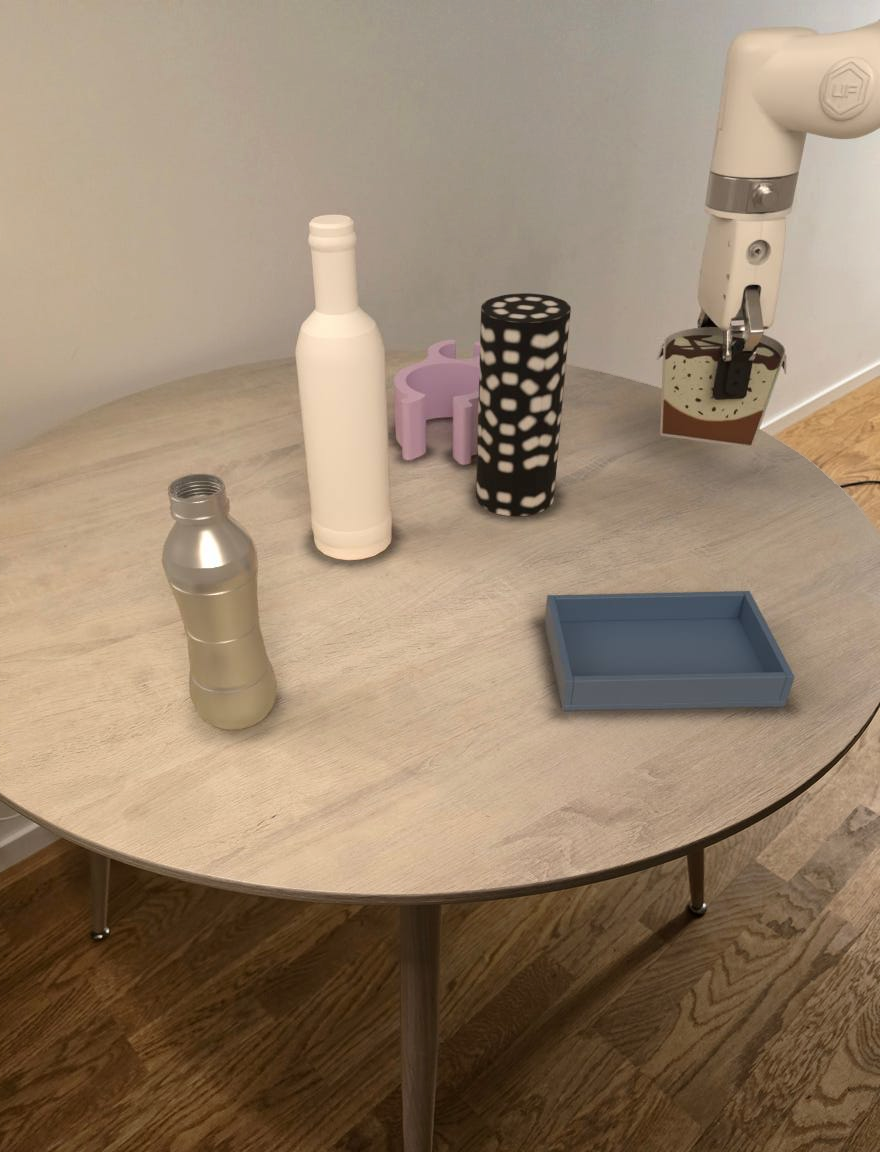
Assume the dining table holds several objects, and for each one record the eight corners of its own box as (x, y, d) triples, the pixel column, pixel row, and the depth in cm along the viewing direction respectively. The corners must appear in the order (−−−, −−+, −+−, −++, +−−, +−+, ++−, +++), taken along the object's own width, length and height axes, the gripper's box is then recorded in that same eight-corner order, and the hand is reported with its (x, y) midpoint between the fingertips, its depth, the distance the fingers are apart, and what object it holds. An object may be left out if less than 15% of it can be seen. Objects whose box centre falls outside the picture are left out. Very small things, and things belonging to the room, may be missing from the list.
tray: (742, 619, 78) (749, 590, 76) (785, 707, 69) (795, 676, 67) (544, 623, 78) (547, 594, 76) (562, 711, 69) (566, 681, 68)
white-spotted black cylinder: (465, 508, 94) (468, 317, 82) (489, 473, 100) (496, 289, 88) (541, 522, 91) (557, 327, 79) (562, 485, 97) (580, 298, 85)
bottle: (389, 562, 86) (376, 232, 68) (308, 561, 87) (273, 233, 68) (394, 519, 93) (384, 206, 74) (319, 519, 93) (290, 207, 74)
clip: (419, 389, 119) (418, 337, 114) (512, 395, 116) (515, 343, 112) (382, 458, 104) (380, 401, 99) (489, 466, 101) (491, 409, 97)
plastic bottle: (221, 677, 74) (178, 456, 61) (295, 695, 72) (265, 471, 59) (179, 728, 69) (122, 501, 57) (256, 750, 67) (215, 519, 55)
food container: (773, 426, 95) (795, 332, 89) (768, 450, 91) (791, 352, 85) (656, 411, 99) (669, 320, 93) (645, 433, 95) (659, 339, 89)
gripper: (828, 213, 74) (783, 416, 85) (761, 172, 87) (729, 351, 98) (736, 218, 74) (703, 419, 85) (684, 176, 88) (661, 354, 99)
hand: (717, 381), depth 91 cm, fingers closed on food container, 7 cm apart
